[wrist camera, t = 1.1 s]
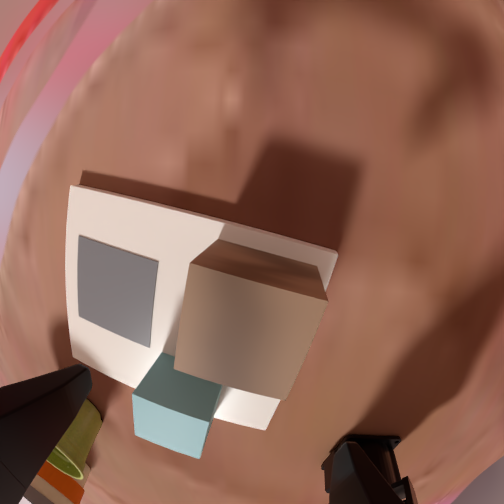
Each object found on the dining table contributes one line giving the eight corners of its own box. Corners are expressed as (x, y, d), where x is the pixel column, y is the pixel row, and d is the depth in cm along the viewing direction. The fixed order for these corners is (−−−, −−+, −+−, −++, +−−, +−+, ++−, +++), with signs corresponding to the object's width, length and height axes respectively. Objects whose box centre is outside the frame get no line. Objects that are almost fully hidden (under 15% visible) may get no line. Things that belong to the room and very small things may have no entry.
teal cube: (225, 373, 19) (209, 422, 14) (214, 414, 20) (199, 458, 15) (161, 351, 19) (132, 393, 14) (158, 394, 20) (134, 434, 16)
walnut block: (317, 266, 16) (328, 301, 11) (287, 349, 18) (285, 400, 13) (217, 238, 16) (189, 262, 12) (200, 324, 18) (173, 368, 13)
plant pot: (68, 367, 23) (21, 412, 15) (128, 427, 24) (95, 480, 16) (47, 388, 25) (11, 424, 17) (96, 438, 26) (68, 479, 18)
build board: (335, 250, 17) (338, 255, 16) (266, 422, 21) (265, 431, 20) (78, 184, 18) (69, 185, 17) (78, 351, 22) (72, 357, 21)
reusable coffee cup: (63, 436, 29) (20, 492, 14) (111, 481, 31) (80, 535, 17) (36, 431, 32) (-1, 474, 17) (77, 472, 34) (48, 516, 19)
